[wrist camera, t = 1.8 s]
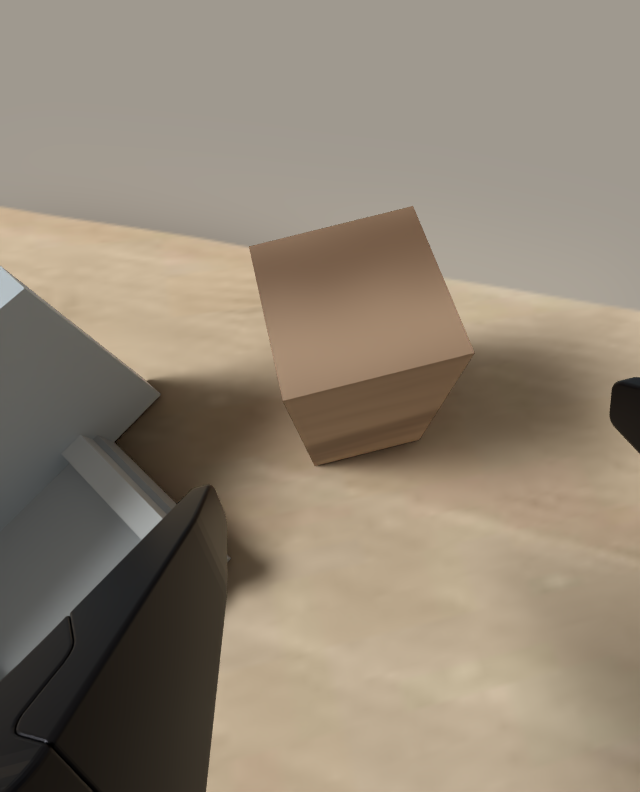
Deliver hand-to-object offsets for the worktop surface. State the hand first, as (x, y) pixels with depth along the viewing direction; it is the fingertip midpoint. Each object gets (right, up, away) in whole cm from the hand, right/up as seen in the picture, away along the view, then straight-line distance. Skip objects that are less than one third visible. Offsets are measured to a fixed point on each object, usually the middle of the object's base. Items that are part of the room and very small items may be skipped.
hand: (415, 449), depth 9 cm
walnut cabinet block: (0, +1, +13) cm, 13 cm away
